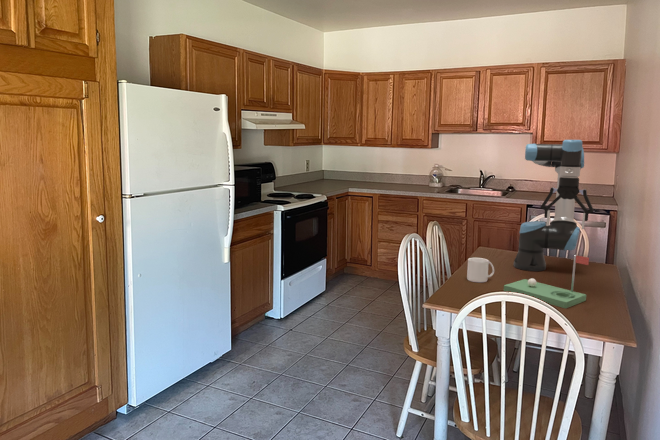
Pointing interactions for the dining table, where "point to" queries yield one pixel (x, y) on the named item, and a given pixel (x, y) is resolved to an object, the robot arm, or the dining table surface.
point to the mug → (478, 269)
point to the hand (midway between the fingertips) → (564, 227)
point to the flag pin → (576, 260)
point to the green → (547, 293)
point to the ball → (532, 282)
